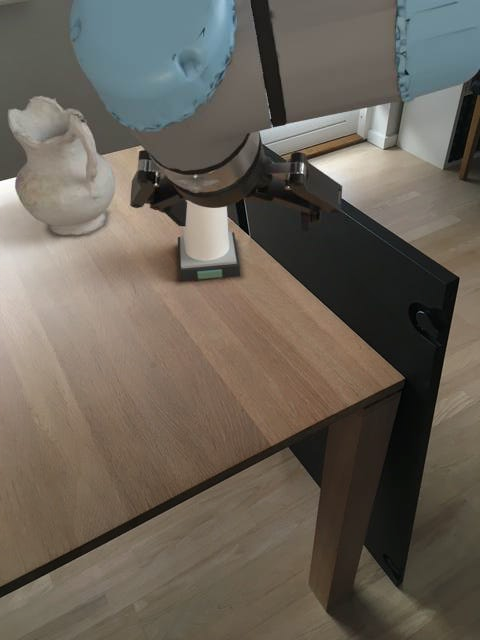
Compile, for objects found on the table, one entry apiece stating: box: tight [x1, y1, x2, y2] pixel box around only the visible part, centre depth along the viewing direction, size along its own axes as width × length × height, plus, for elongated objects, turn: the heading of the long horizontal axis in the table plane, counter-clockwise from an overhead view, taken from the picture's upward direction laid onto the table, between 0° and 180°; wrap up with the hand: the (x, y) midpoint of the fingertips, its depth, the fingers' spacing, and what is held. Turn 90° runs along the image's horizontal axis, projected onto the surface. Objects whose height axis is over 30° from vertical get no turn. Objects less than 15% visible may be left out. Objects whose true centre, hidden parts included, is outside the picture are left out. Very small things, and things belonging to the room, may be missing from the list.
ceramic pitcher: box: [7, 95, 116, 236], centre depth 106 cm, size 22×20×25 cm
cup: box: [181, 200, 229, 261], centre depth 95 cm, size 8×8×16 cm
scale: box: [177, 230, 241, 282], centre depth 101 cm, size 11×12×3 cm
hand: (243, 216), depth 59 cm, fingers open, 13 cm apart
